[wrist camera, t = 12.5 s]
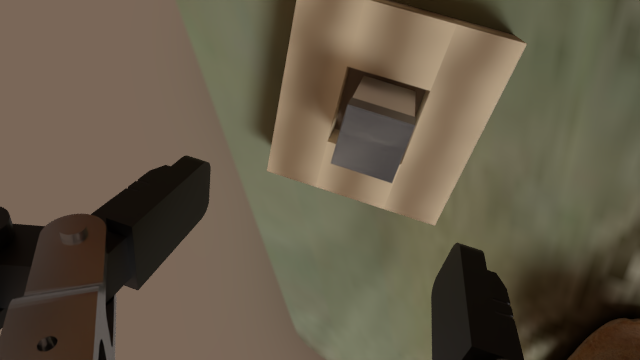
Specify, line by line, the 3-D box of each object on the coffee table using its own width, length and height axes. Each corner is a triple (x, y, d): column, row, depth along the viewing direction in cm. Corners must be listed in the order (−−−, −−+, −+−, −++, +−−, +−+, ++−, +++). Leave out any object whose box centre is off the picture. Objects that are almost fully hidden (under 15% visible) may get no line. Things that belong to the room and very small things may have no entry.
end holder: (514, 34, 28) (526, 43, 25) (433, 201, 36) (434, 225, 33) (313, -21, 29) (299, -20, 26) (280, 152, 38) (267, 170, 34)
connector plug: (416, 91, 31) (415, 125, 24) (397, 139, 33) (391, 183, 26) (363, 74, 31) (347, 104, 24) (348, 124, 33) (330, 163, 27)
